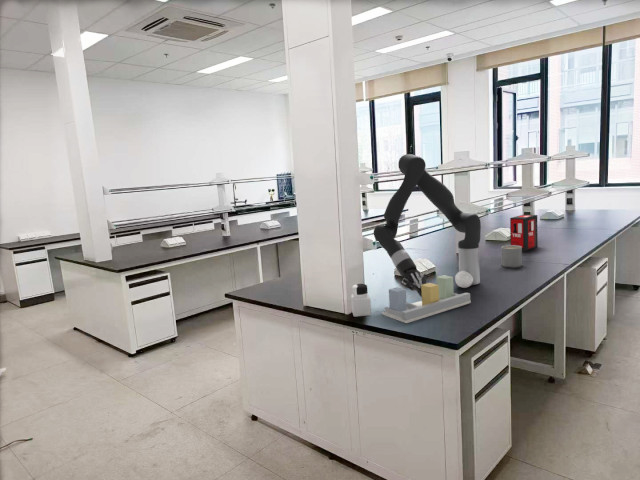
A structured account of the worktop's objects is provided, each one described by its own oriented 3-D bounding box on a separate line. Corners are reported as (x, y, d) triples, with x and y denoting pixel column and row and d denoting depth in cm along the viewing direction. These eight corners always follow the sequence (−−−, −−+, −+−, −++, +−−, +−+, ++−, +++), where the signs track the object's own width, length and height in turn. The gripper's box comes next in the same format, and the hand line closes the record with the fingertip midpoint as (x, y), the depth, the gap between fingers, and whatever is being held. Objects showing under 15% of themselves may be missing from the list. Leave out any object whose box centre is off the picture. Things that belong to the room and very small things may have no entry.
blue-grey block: (389, 311, 180) (388, 289, 179) (398, 308, 183) (397, 287, 181) (398, 314, 176) (396, 291, 175) (406, 311, 178) (405, 289, 177)
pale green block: (437, 297, 193) (436, 276, 192) (444, 295, 195) (444, 274, 194) (446, 299, 189) (445, 278, 188) (453, 297, 191) (453, 276, 190)
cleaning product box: (524, 251, 274) (524, 218, 271) (510, 249, 281) (510, 218, 278) (537, 246, 285) (537, 215, 282) (523, 245, 292) (523, 214, 288)
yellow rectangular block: (422, 306, 183) (421, 284, 181) (430, 304, 185) (429, 282, 184) (431, 309, 179) (430, 287, 177) (439, 306, 181) (438, 284, 179)
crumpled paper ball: (460, 290, 205) (460, 274, 204) (451, 286, 212) (451, 270, 211) (476, 288, 207) (475, 271, 206) (466, 284, 214) (466, 268, 213)
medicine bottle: (369, 309, 188) (367, 281, 186) (371, 315, 181) (369, 286, 179) (351, 311, 188) (349, 283, 186) (353, 316, 181) (351, 287, 179)
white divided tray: (382, 314, 181) (381, 304, 180) (445, 296, 198) (444, 287, 198) (406, 323, 169) (405, 313, 169) (470, 302, 187) (470, 293, 186)
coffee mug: (516, 268, 236) (516, 249, 235) (498, 266, 244) (498, 247, 242) (528, 263, 245) (528, 244, 243) (510, 261, 252) (510, 243, 251)
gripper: (395, 260, 186) (417, 295, 178) (419, 255, 193) (441, 288, 184) (387, 270, 192) (408, 305, 183) (411, 265, 198) (432, 298, 190)
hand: (424, 296), depth 184 cm, fingers closed
